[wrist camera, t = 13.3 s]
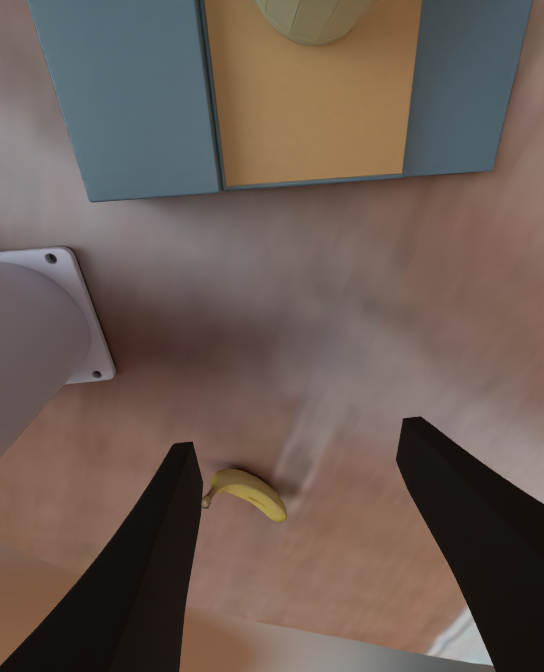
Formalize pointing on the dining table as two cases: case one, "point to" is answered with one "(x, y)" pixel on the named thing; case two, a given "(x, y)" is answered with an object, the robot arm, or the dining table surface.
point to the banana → (247, 492)
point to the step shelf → (276, 93)
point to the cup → (315, 18)
